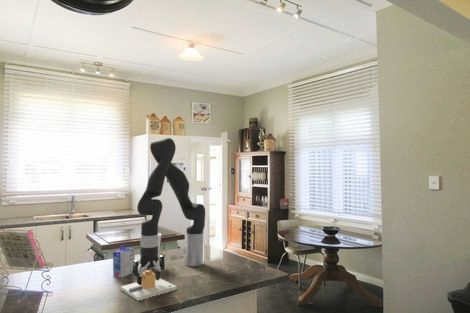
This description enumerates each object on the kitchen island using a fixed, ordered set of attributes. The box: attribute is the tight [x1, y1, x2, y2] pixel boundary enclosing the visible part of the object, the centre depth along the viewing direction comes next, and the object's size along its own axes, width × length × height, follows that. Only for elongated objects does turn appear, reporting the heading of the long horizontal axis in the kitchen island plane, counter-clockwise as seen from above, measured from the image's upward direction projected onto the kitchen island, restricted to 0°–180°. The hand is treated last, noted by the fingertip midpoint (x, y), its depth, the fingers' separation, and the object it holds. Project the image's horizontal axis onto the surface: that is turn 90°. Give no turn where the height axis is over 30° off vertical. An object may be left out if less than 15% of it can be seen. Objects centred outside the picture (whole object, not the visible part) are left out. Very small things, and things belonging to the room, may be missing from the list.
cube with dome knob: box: [141, 269, 156, 289], centre depth 142 cm, size 4×4×6 cm
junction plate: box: [120, 278, 177, 302], centre depth 142 cm, size 16×18×6 cm
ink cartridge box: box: [112, 243, 136, 279], centre depth 162 cm, size 10×6×14 cm, turn 155°
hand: (148, 282), depth 142 cm, fingers open, 8 cm apart
